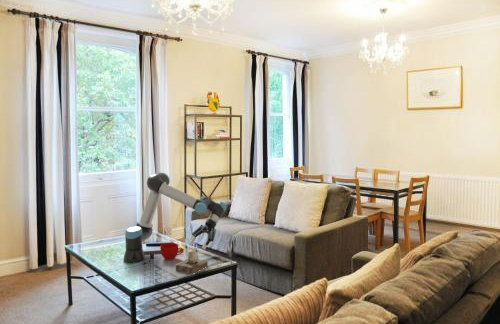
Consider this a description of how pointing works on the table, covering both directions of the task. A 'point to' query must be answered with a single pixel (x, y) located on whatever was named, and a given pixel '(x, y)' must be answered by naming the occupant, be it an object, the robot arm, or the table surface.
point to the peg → (191, 257)
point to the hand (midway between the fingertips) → (196, 246)
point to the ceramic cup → (169, 250)
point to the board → (191, 266)
